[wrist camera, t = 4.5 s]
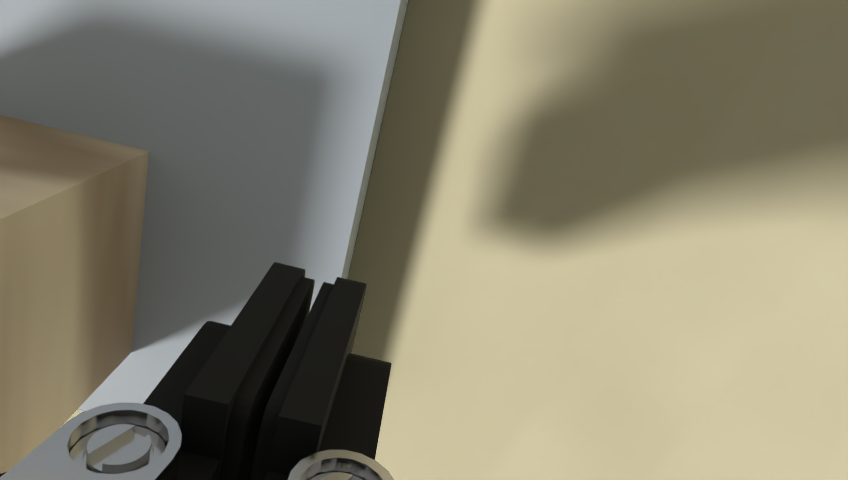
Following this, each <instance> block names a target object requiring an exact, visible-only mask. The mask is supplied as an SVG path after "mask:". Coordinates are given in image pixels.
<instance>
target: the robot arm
mask: <svg viewBox="0 0 848 480" xmlns="http://www.w3.org/2000/svg"><path fill="white" fill-rule="evenodd" d="M314 284H315V280H314V279H310V278H305V269H302V268H298V267H294V266H289V265H285V264H281V263H277V262H274V263H273V265H272V266H271V267H270V269H269V270H268V272H267V273H266V275H265V276H264V278H263V279H262V281H261V282H260V284H259V285H258V287H257V288H256V290H255V291H254V292H253V294H252V295H251V297H250V298H249V300H248V301H247V303H246V304H245V306H244V307H243V309H242V310H241V312H240V313H239V315H238V316H237V317H236V319H235V320H234V322H233V323H232V325H227V324H222V323H218V322H214V321H207V322H206V323H205V324H204V325H203V326H202V327H201V329H200V330H199V331H198V332H197V334H196V335H195V336H194V338H193V339H192V340H191V342H190V343H189V344H188V346H187V347H186V348H185V349H184V351H183V352H182V353H181V355H180V356H179V357H178V359H177V360H176V361H175V363H174V364H173V365H172V366H171V368H170V369H169V370H168V372H167V373H166V374H165V376H164V377H163V378H162V380H161V381H160V382H159V383H158V385H157V386H156V387H155V389H154V390H153V391H152V393H151V394H150V395H149V396H148V398H147V399H146V400H145V402H144V403H143V404H141V403H121V402H119V403H113V404H107V405H101V406H98V407H95V408H92V409H90V410H87V411H84V412H82V413H80V414H79V415H77V416H76V417H74V418H72V419H71V420H69V421H68V422H66V423H65V424H64V425H63V426H62V427H60V428H59V429H58V430H57V431H56V432H54V433H53V434H52V435H51V436H50V437H48V438H47V439H46V440H45V441H43V442H42V443H41V444H40V445H39V446H37V447H36V448H35V449H34V450H33V451H31V452H30V453H29V454H28V455H27V456H25V457H24V458H23V459H22V460H21V461H19V462H18V463H17V464H16V465H14V466H13V467H12V468H11V469H10V470H8V471H7V472H4V473H1V474H0V480H394V479H393V478H392V476H391V475H390V473H389V472H388V470H386V469H385V468H384V467H383V466H382V465H380V464H379V463H378V462H377V461H375V455H376V449H377V443H378V438H379V432H380V426H381V420H382V415H383V409H384V403H385V398H386V392H387V386H388V381H389V375H390V369H391V363H389V362H385V361H380V360H376V359H372V358H368V357H363V356H359V355H355V354H351V351H352V347H353V342H354V338H355V334H356V329H357V325H358V321H359V316H360V312H361V308H362V303H363V299H364V295H365V290H366V285H367V284H365V283H361V282H356V281H352V280H348V279H344V278H340V277H337V278H336V281H335V283H334V284H331V283H326V282H323V284H322V286H321V288H320V290H319V293H318V295H317V297H316V299H315V301H314V303H313V305H312V308H311V310H310V306H311V300H312V295H313V290H314ZM309 311H310V312H309Z"/></svg>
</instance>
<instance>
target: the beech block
mask: <svg viewBox="0 0 848 480" xmlns="http://www.w3.org/2000/svg"><path fill="white" fill-rule="evenodd" d="M148 158H149V151H145V150H141V149H137V148H133V147H129V146H125V145H121V144H117V143H113V142H109V141H105V140H101V139H96V138H92V137H88V136H84V135H80V134H76V133H72V132H68V131H64V130H60V129H56V128H52V127H48V126H44V125H40V124H35V123H31V122H27V121H23V120H19V119H15V118H11V117H7V116H3V115H0V474H1V473H4V472H7V471H8V470H10V469H11V468H12V467H13V466H14V465H16V464H17V463H18V462H19V461H21V460H22V459H23V458H24V457H25V456H27V455H28V454H29V453H30V452H31V451H33V450H34V449H35V448H36V447H37V446H39V445H40V444H41V443H42V442H43V441H45V440H46V439H47V438H48V437H50V436H51V435H52V434H53V433H54V432H56V431H57V430H58V429H59V428H60V427H61V426H62V425H63V424H64V423H65V422H66V421H67V420H68V419H69V418H70V416H71V415H72V414H73V413H74V412H75V411H76V410H77V409H78V408H79V407H80V406H81V405H82V404H83V403H84V402H85V401H86V400H87V399H88V398H89V396H90V395H91V394H92V393H93V392H94V391H95V390H96V389H97V388H98V387H99V386H100V385H101V384H102V383H103V382H104V381H105V380H106V379H107V377H108V376H109V375H110V374H111V373H112V372H113V371H114V370H115V369H116V368H117V367H118V366H119V365H120V364H121V363H122V362H123V361H124V360H125V359H126V357H127V356H128V355H129V354H130V353H131V349H132V338H133V327H134V316H135V304H136V293H137V282H138V271H139V259H140V248H141V237H142V226H143V214H144V203H145V192H146V181H147V169H148Z"/></svg>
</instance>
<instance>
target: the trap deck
mask: <svg viewBox="0 0 848 480" xmlns="http://www.w3.org/2000/svg"><path fill="white" fill-rule="evenodd" d="M407 4H408V0H0V115H3V116H7V117H11V118H15V119H19V120H23V121H27V122H31V123H35V124H40V125H44V126H48V127H52V128H56V129H60V130H64V131H68V132H72V133H76V134H80V135H84V136H88V137H92V138H96V139H101V140H105V141H109V142H113V143H117V144H121V145H125V146H129V147H133V148H137V149H141V150H145V151H149V158H148V169H147V181H146V192H145V203H144V214H143V226H142V237H141V248H140V259H139V271H138V282H137V293H136V304H135V316H134V327H133V338H132V349H131V353H130V354H129V355H128V356H127V357H126V359H125V360H124V361H123V362H122V363H121V364H120V365H119V366H118V367H117V368H116V369H115V370H114V371H113V372H112V373H111V374H110V375H109V376H108V377H107V379H106V380H105V381H104V382H103V383H102V384H101V385H100V386H99V387H98V388H97V389H96V390H95V391H94V392H93V393H92V394H91V395H90V396H89V398H88V399H87V400H86V401H85V402H84V403H83V404H82V405H81V406H80V407H79V408H78V409H77V410H81V411H87V410H90V409H92V408H95V407H98V406H101V405H107V404H113V403H119V402H121V403H141V404H143V403H144V402H145V400H146V399H147V398H148V396H149V395H150V394H151V393H152V391H153V390H154V389H155V387H156V386H157V385H158V383H159V382H160V381H161V380H162V378H163V377H164V376H165V374H166V373H167V372H168V370H169V369H170V368H171V366H172V365H173V364H174V363H175V361H176V360H177V359H178V357H179V356H180V355H181V353H182V352H183V351H184V349H185V348H186V347H187V346H188V344H189V343H190V342H191V340H192V339H193V338H194V336H195V335H196V334H197V332H198V331H199V330H200V329H201V327H202V326H203V325H204V324H205V323H206V322H207V321H214V322H218V323H222V324H227V325H232V323H233V322H234V320H235V319H236V317H237V316H238V315H239V313H240V312H241V310H242V309H243V307H244V306H245V304H246V303H247V301H248V300H249V298H250V297H251V295H252V294H253V292H254V291H255V290H256V288H257V287H258V285H259V284H260V282H261V281H262V279H263V278H264V276H265V275H266V273H267V272H268V270H269V269H270V267H271V266H272V265H273V263H274V262H277V263H281V264H285V265H289V266H294V267H298V268H302V269H305V278H310V279H314V280H315V284H314V290H313V295H312V300H311V306H310V310H311V308H312V305H313V303H314V301H315V299H316V297H317V295H318V293H319V290H320V288H321V286H322V284H323V282H326V283H331V284H334V283H335V281H336V278H337V277H340V278H344V279H348V274H349V270H350V265H351V260H352V256H353V251H354V247H355V242H356V238H357V233H358V228H359V224H360V219H361V215H362V210H363V206H364V201H365V196H366V192H367V187H368V183H369V178H370V173H371V169H372V164H373V160H374V155H375V151H376V146H377V141H378V137H379V132H380V128H381V123H382V119H383V114H384V109H385V105H386V100H387V96H388V91H389V87H390V82H391V77H392V73H393V68H394V64H395V59H396V55H397V50H398V45H399V41H400V36H401V32H402V27H403V23H404V18H405V13H406V9H407ZM309 312H310V311H309Z"/></svg>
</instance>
